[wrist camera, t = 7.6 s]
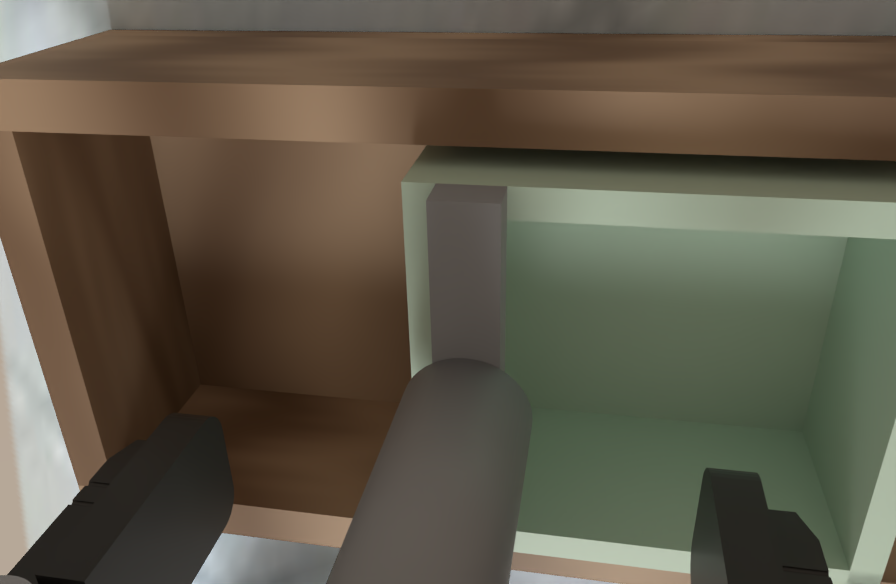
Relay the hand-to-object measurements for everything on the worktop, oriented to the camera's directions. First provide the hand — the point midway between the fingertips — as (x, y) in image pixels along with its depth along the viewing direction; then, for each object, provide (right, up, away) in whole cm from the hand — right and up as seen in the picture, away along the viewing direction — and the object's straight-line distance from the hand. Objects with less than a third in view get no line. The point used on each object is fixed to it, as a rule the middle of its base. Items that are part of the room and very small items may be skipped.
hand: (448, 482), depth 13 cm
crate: (+5, +3, +6) cm, 8 cm away
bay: (+2, +4, +8) cm, 9 cm away
